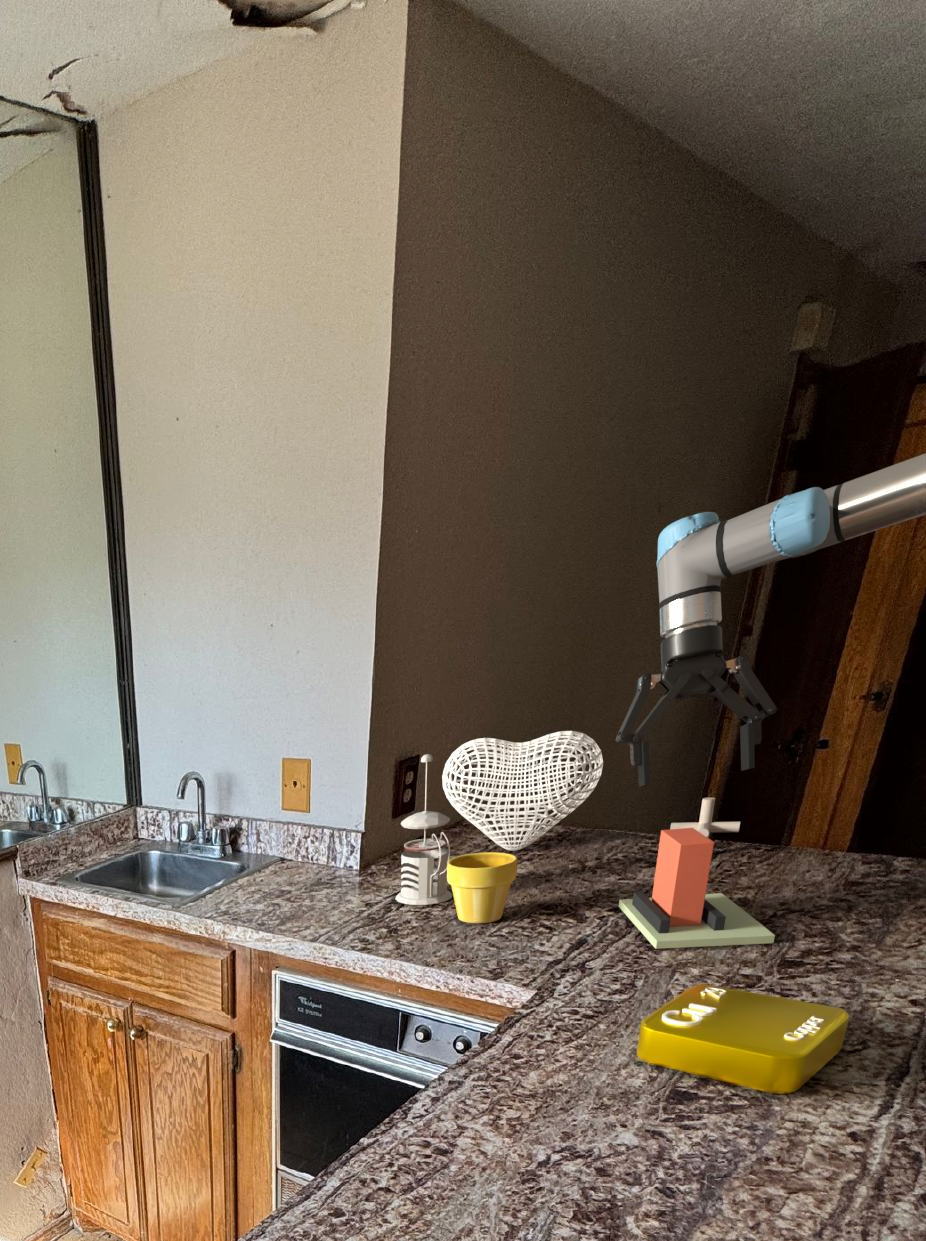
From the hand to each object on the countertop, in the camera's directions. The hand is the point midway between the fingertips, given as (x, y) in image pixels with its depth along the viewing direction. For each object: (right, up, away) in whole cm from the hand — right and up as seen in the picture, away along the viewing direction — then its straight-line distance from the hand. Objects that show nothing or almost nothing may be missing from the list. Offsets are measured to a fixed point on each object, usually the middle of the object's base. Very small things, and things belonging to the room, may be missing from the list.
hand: (695, 778), depth 134 cm
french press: (-31, -14, +25) cm, 42 cm away
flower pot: (-28, -20, +12) cm, 36 cm away
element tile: (-23, -43, -38) cm, 62 cm away
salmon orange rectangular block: (-6, -22, -4) cm, 23 cm away
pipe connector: (+17, -6, +23) cm, 30 cm away
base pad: (-4, -23, -4) cm, 24 cm away
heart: (-6, 0, +44) cm, 44 cm away
